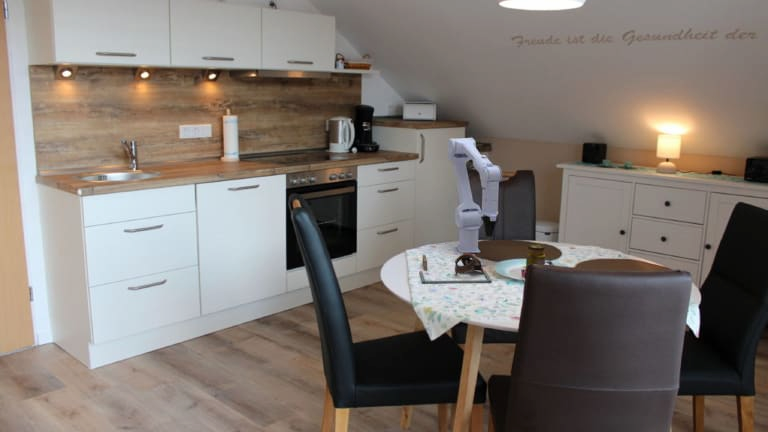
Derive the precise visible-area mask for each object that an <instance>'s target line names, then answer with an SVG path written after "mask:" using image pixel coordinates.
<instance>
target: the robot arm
mask: <svg viewBox="0 0 768 432" xmlns="http://www.w3.org/2000/svg"><path fill="white" fill-rule="evenodd" d="M476 144H477V143H476V140H475V139H474V138H473V137H464V138H463V137H462V138H452V137H451V138H449V139H448V141H447V146H446V152H447V156H448V161H449V162H450V163H452V164H451V165H452V167H453V173H454V174H453V175H454V178H455V183H456V184H455V185H456V189H457V194H458V199H459V200H458V201H459V205H458V206H457V207H456V209H455V210H454V216H455V217H454V222H455V225H456V226H457V228H459V232H458V233H459V235H458V237H459V238H458V245H456V248H457V250H458V252H459V254H462V253H463V254H464V253H471V254H475V253H477V254H478V253H481V250H480V249H479V229H481V227H482V226H484V233H485V234H484V235H485V237H489V238H491V237H493V235H494V230H495V227H496V224H497V223H498V221H499V218H498V215H499V187H500V186H499V185H500V184H499V183H500V182H501V181H502V178H503V171H502V168H501V167H500V165H495V164H493V163H492V161H491V160H489V158H488V157H487V155H485V154H481V153H480V151H479V150H478V149H477V145H476ZM470 160H471V161H472V166H473V167H474V169H475V170H476V171H477V172H478V174H479V179H480V186H481V189H482V192H481V193H482V194H481V200H482V201H481V207H480V205H479V204H477V203H475V202H474V199H473V194H472V189H471V183H470V178H469V174H468V169H467V162H469V161H470Z"/></svg>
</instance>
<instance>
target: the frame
mask: <svg viewBox="0 0 768 432" xmlns="http://www.w3.org/2000/svg"><path fill="white" fill-rule="evenodd" d="M482 275H484V278H485V279H486V280H485V279H484V280H483V279H481V280H480V279H479V280H476V279H475V280H471V279H470V280H469V279H467V280H426V279H425V275H424V273H423V271H422V270H420V271H419V276H420V280H421V284H423V285H426V284H427V285H429V284H430V285H431V284H492V283H493V281H492V279H491V277H490V275H488V272H487V271H486V270H483V274H482Z"/></svg>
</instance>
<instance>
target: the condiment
mask: <svg viewBox="0 0 768 432" xmlns="http://www.w3.org/2000/svg"><path fill="white" fill-rule="evenodd" d="M527 248H528V249H527V253H526V258H525V259H526V260H525V269H526V268H527V266H528V265H529V264H545V263H546V255H545V246H544V245H542V244H529V245H528V246H527ZM545 265H546V264H545Z"/></svg>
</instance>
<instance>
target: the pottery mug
mask: <svg viewBox="0 0 768 432" xmlns="http://www.w3.org/2000/svg"><path fill="white" fill-rule="evenodd" d="M473 254H474V253H463V254H462V253H461V254H460V255H459V256H458V257H457V258H455V261H454V265H455V266H454V272H455V275H456V276H457V275H458V274H466V273H469V272H472V271H473V272H475V271H477V272H478V271H479V272H481V274H482V275H484V274H483V271H484V268H483V265H482V262H481V260H480V259H479V258H478V257H477V256H476V257H475V256H474V255H473ZM460 261H461V263H462V265H460V264H458V263H459V262H460Z"/></svg>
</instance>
